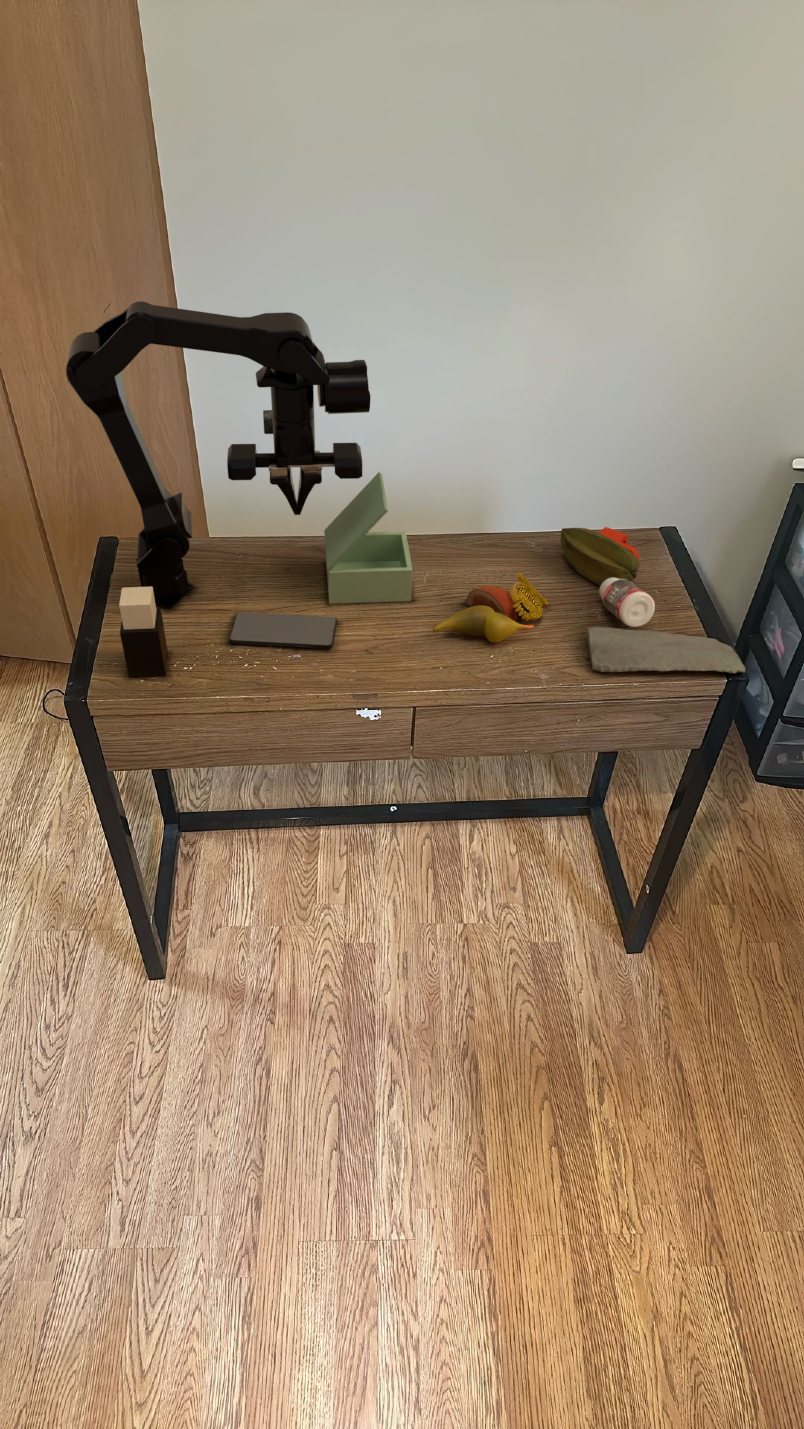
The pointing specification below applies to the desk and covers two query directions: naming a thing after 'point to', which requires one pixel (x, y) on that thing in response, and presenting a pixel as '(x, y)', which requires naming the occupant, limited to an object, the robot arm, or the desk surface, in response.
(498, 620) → the yellow tapered piece
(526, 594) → the logo
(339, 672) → the desk surface
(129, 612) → the block
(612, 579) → the pill bottle
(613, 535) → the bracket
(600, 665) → the stone slab
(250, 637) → the smartphone
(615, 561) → the fruit
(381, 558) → the case
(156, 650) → the stand
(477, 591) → the fruit slice
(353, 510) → the cover
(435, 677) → the desk surface
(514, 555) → the desk surface
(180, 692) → the desk surface
